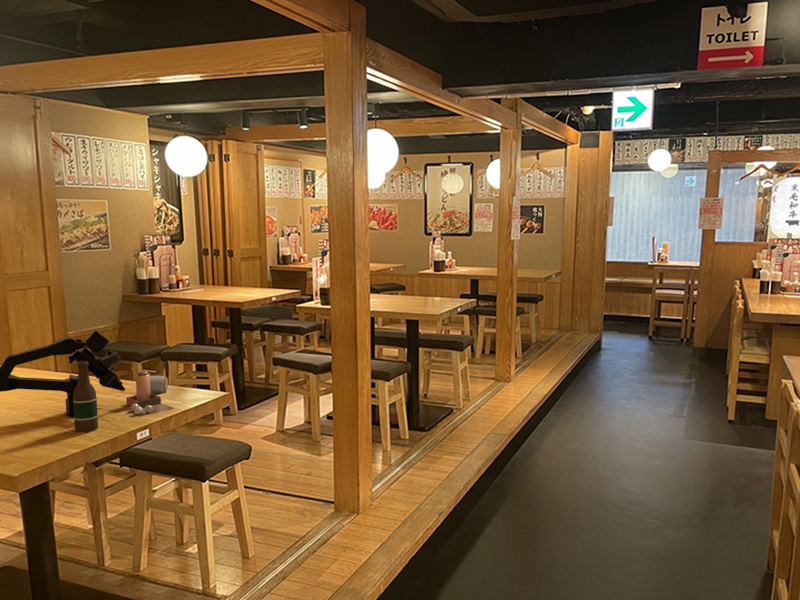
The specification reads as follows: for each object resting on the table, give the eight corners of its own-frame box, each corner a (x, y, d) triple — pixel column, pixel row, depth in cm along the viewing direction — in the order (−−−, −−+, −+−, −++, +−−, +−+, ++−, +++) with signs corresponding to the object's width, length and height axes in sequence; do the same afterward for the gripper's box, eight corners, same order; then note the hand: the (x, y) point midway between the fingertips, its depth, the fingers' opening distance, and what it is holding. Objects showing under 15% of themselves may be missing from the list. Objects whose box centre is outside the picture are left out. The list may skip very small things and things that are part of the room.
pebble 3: (147, 414, 232) (146, 406, 231) (143, 413, 234) (142, 405, 233) (154, 412, 234) (154, 405, 234) (150, 411, 236) (150, 403, 236)
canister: (144, 407, 242) (142, 374, 240) (133, 405, 244) (132, 372, 242) (153, 403, 247) (152, 371, 245) (143, 402, 248) (142, 370, 247)
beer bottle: (92, 424, 223) (89, 358, 220) (103, 429, 218) (99, 361, 215) (69, 429, 217) (65, 361, 214) (80, 434, 212) (76, 365, 209)
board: (140, 418, 229) (139, 416, 229) (126, 413, 236) (126, 411, 236) (175, 410, 240) (175, 408, 240) (161, 405, 246) (161, 403, 246)
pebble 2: (136, 416, 230) (136, 408, 229) (132, 414, 232) (132, 406, 231) (144, 414, 232) (144, 406, 232) (140, 412, 234) (140, 404, 234)
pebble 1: (133, 413, 233) (132, 405, 233) (129, 411, 235) (129, 403, 235) (141, 411, 236) (140, 403, 235) (137, 409, 238) (136, 402, 237)
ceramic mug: (166, 395, 261) (165, 377, 260) (145, 396, 259) (144, 377, 258) (169, 389, 271) (169, 371, 270) (149, 390, 269) (148, 372, 268)
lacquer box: (138, 410, 239) (137, 401, 238) (126, 406, 245) (126, 397, 244) (160, 405, 246) (160, 396, 245) (149, 401, 252) (148, 392, 251)
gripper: (108, 349, 228) (142, 376, 235) (104, 341, 244) (135, 366, 251) (85, 373, 225) (119, 399, 232) (82, 363, 241) (114, 387, 248)
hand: (123, 387), depth 241 cm, fingers open, 9 cm apart
